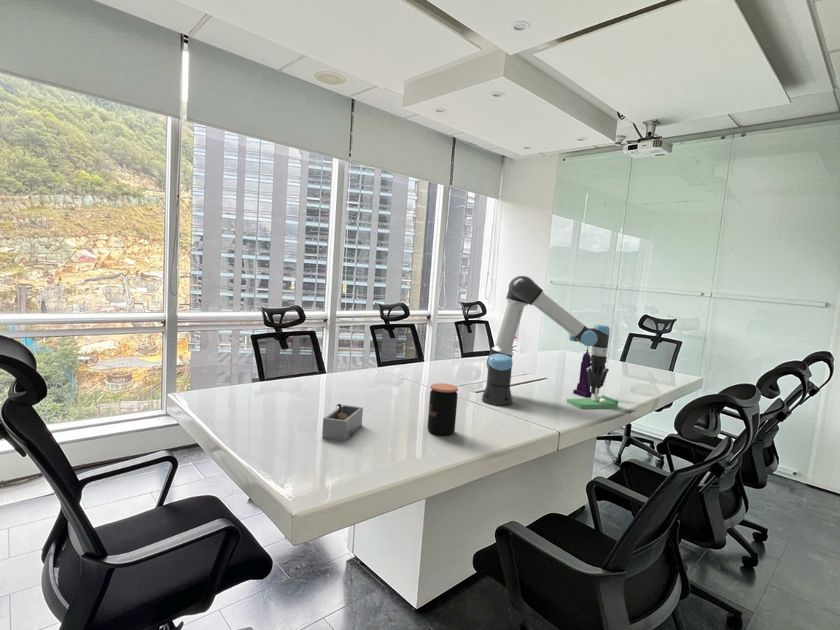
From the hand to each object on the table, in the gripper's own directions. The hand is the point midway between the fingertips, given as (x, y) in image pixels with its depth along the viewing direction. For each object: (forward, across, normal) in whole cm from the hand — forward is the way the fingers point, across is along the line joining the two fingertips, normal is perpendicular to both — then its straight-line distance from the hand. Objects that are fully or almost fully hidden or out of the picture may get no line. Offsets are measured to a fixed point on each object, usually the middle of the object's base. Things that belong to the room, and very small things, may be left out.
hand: (593, 399), depth 234 cm
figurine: (+3, -135, -22) cm, 137 cm away
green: (+3, -1, 0) cm, 3 cm away
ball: (+3, +6, 0) cm, 7 cm away
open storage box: (+4, -134, -23) cm, 136 cm away
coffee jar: (+4, -97, -28) cm, 101 cm away
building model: (+3, +8, +19) cm, 21 cm away
